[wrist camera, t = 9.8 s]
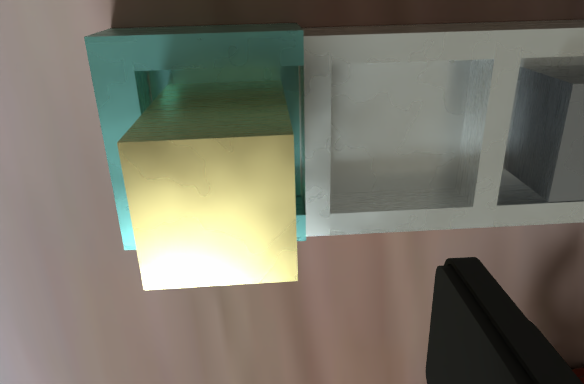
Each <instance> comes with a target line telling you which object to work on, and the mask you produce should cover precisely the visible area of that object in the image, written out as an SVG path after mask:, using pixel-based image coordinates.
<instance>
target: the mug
mask: <svg viewBox="0 0 584 384" xmlns="http://www.w3.org/2000/svg"><path fill="white" fill-rule="evenodd" d="M572 371H573V372H574V373H575V374H576V376H577V377H578V378H579V379H580V380H581V382H582V383H583V384H584V367H580V368H573V369H572Z"/></svg>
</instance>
